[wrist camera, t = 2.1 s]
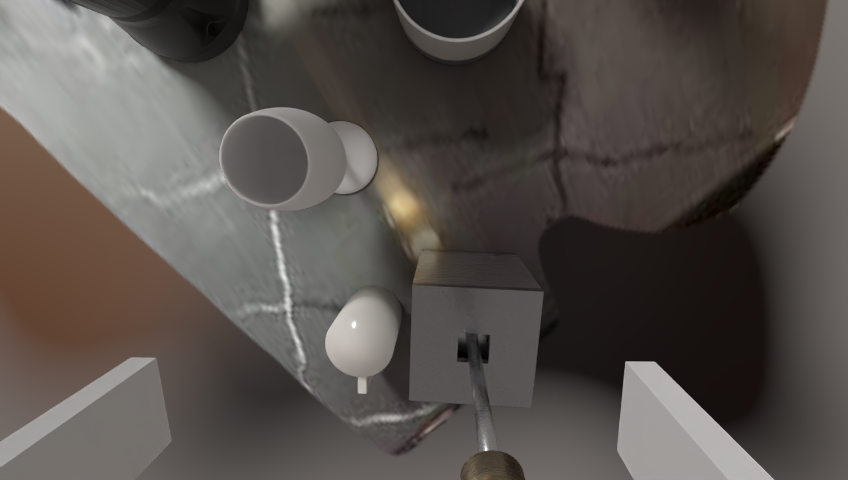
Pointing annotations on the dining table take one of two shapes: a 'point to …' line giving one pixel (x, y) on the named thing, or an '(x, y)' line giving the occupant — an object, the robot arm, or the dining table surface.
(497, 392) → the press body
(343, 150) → the wineglass
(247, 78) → the dining table surface
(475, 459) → the plunger
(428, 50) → the planter
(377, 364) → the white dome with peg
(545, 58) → the dining table surface
